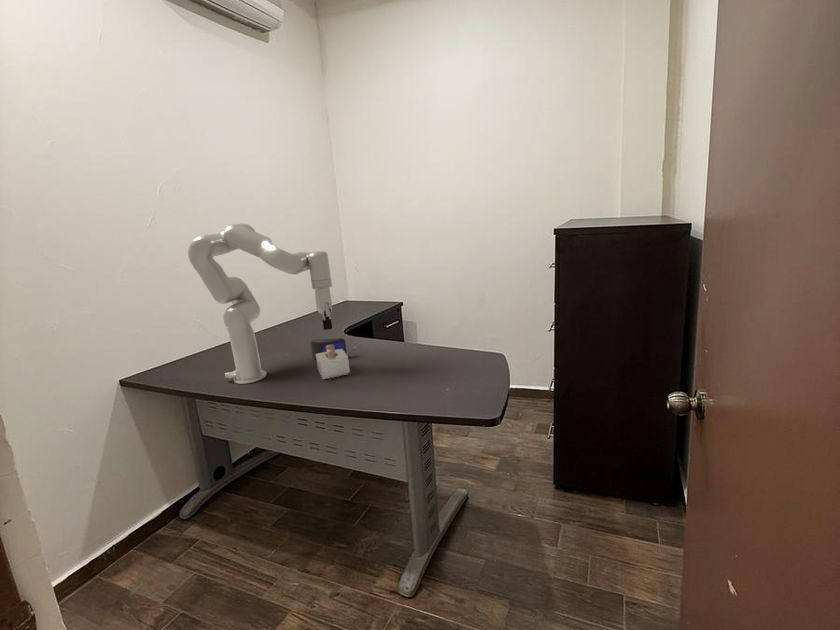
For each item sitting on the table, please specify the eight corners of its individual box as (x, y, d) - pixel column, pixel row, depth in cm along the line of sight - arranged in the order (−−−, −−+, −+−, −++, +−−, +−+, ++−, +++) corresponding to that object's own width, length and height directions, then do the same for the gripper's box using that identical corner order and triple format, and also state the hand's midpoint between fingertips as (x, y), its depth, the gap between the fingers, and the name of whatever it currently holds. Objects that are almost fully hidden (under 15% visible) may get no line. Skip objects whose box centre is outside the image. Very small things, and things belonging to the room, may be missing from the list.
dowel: (330, 375, 168) (326, 347, 165) (329, 373, 171) (325, 345, 168) (338, 374, 169) (334, 346, 166) (337, 371, 172) (333, 344, 169)
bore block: (322, 380, 163) (320, 361, 161) (318, 371, 173) (315, 353, 171) (350, 374, 167) (347, 356, 165) (344, 366, 177) (342, 348, 175)
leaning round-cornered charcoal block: (310, 362, 186) (306, 342, 184) (313, 358, 191) (310, 339, 188) (345, 360, 184) (342, 340, 182) (347, 357, 189) (345, 337, 186)
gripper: (309, 282, 166) (315, 326, 171) (314, 287, 153) (321, 335, 157) (327, 280, 169) (333, 323, 173) (335, 284, 155) (341, 331, 160)
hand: (328, 328), depth 165 cm, fingers closed
